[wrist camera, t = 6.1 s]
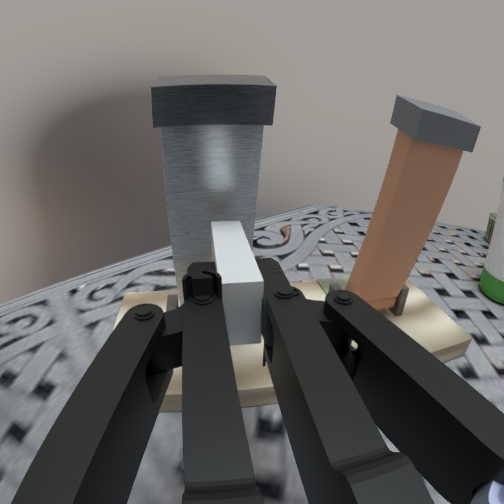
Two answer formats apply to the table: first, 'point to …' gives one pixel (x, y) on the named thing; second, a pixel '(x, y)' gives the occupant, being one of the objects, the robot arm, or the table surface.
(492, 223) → the olive plank with panel
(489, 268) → the wine bottle
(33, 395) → the table surface
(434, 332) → the switch panel
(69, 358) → the table surface
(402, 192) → the terracotta lever
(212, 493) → the robot arm
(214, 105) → the grey lever
